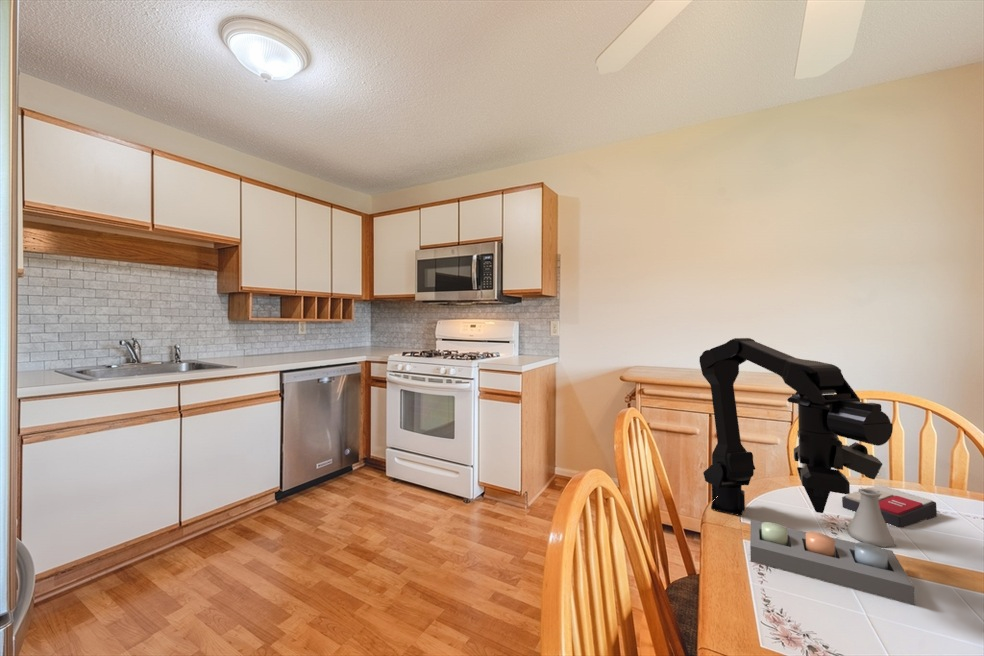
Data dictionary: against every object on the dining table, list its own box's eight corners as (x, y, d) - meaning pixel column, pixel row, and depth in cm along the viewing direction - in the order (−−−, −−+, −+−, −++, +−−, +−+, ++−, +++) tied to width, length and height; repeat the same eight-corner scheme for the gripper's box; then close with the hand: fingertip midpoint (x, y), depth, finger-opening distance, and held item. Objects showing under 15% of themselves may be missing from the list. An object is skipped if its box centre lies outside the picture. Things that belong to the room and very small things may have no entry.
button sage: (762, 545, 77) (761, 529, 77) (761, 535, 80) (761, 520, 80) (788, 551, 74) (788, 535, 74) (787, 541, 78) (786, 525, 78)
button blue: (857, 568, 69) (857, 550, 69) (852, 557, 72) (852, 540, 72) (890, 576, 66) (890, 558, 66) (884, 564, 70) (883, 546, 70)
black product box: (840, 494, 96) (877, 481, 101) (841, 511, 96) (878, 498, 101) (899, 513, 86) (937, 499, 91) (900, 532, 86) (938, 517, 91)
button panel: (750, 561, 75) (750, 545, 75) (750, 533, 84) (750, 519, 84) (914, 605, 62) (914, 586, 62) (892, 566, 72) (892, 550, 72)
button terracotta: (807, 556, 73) (806, 539, 73) (804, 545, 76) (804, 529, 76) (836, 563, 70) (836, 546, 70) (832, 552, 74) (832, 535, 74)
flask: (905, 549, 78) (904, 500, 78) (863, 546, 79) (862, 497, 79) (877, 531, 85) (876, 485, 85) (838, 528, 86) (838, 483, 86)
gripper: (891, 450, 61) (893, 548, 61) (863, 424, 77) (865, 503, 77) (802, 439, 67) (803, 529, 67) (792, 418, 83) (794, 490, 83)
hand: (819, 512), depth 73 cm, fingers closed
